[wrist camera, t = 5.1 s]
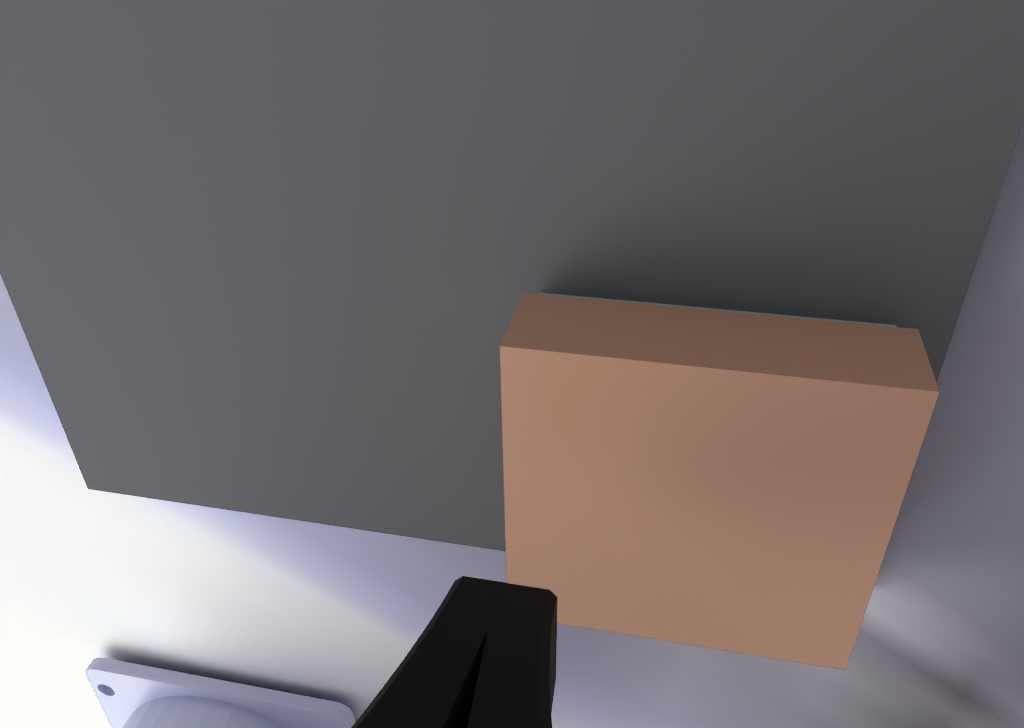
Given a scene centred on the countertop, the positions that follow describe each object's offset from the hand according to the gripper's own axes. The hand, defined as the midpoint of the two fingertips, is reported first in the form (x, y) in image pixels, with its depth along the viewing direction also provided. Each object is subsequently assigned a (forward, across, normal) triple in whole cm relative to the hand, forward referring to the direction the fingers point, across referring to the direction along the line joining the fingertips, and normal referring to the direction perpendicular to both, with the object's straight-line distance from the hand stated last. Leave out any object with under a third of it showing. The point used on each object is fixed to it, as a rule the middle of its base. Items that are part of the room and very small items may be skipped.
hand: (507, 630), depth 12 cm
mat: (+5, +2, -2) cm, 6 cm away
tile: (+4, +1, 0) cm, 4 cm away
